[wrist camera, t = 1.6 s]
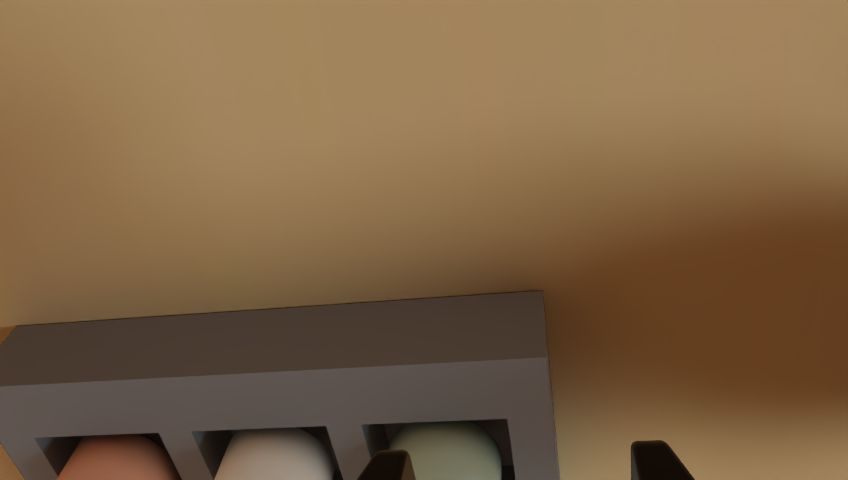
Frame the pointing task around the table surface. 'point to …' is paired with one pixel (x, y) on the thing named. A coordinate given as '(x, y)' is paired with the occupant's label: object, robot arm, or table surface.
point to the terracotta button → (119, 459)
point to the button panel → (284, 381)
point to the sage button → (449, 450)
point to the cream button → (275, 456)
